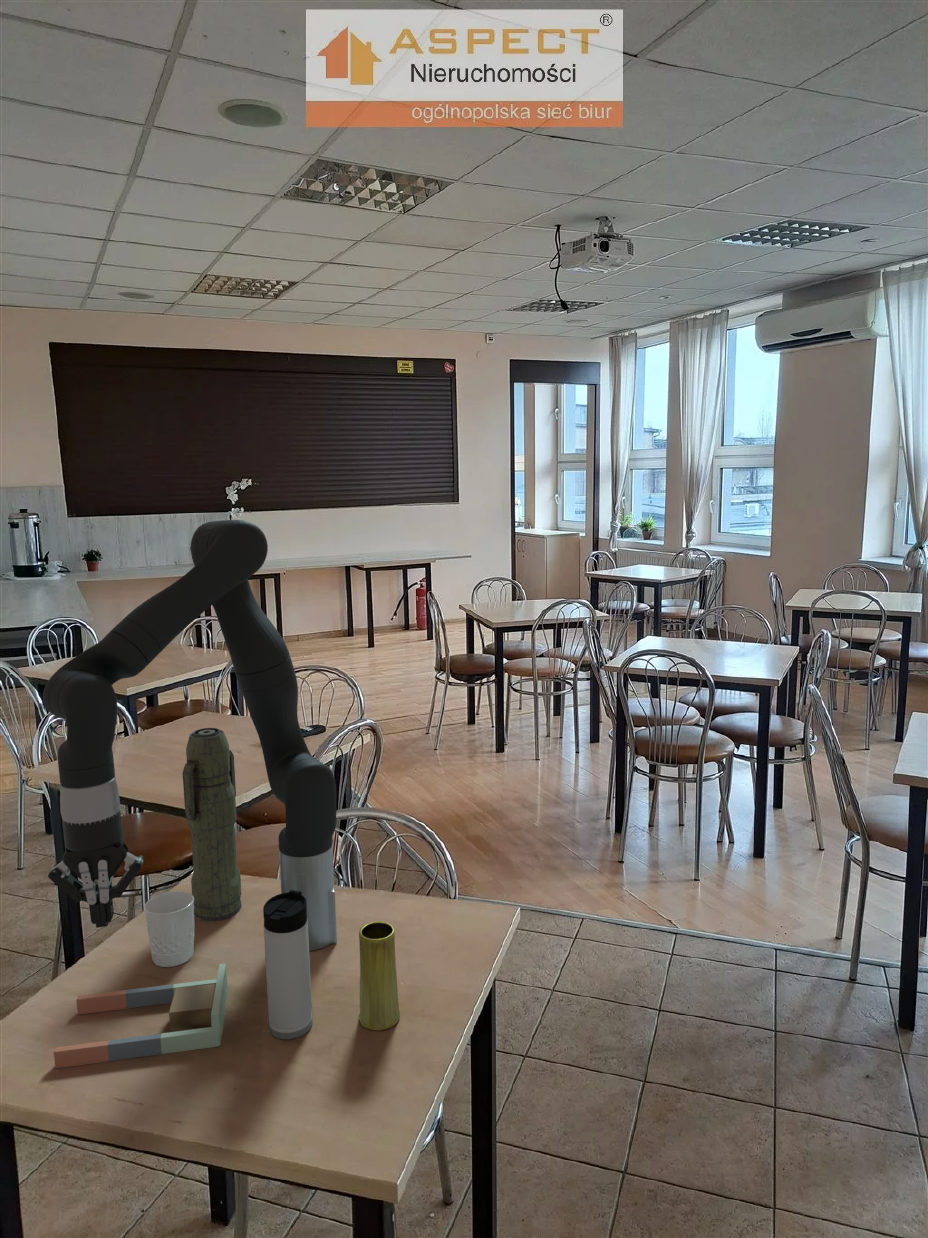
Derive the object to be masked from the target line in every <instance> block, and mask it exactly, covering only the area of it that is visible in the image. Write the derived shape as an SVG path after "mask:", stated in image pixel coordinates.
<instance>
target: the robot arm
mask: <svg viewBox="0 0 928 1238" xmlns="http://www.w3.org/2000/svg"><path fill="white" fill-rule="evenodd" d="M268 547H269V546H268V540H267V538H266V534H265V533H264V532H263V530H262V529H261V528H260V527H259V526H258V525H257V524H255V523H253V522H251V521H249V520H244V519H226V520H225V519H224V520H223V519H222V520H213V521H208V522H205V523H202V524H201V525H199V526H198V527H197V528H196V529H195V531H194V532H193V535H192V538H191V541H190V554H191V560H192V562H193V565H194V567H192V568H191V569H190V570H189V571H187V572H186V573H185V574H184V575H183V576H181V577H180V578H178V579H177V580H176V581H174V582H173V583H171V584H170V585H169V586H167V587H165V588H164V589H162V590H160V591H159V592H157V593H156V594H154V595H152V596H151V597H149V598H148V599H147V600H145V601H144V602H142V603H140V605H138V606H136V607H135V608H134V609H133V610H132V611H130V613H128V614H127V615H126V616H125V617H124V618H123V619H121V621H120V622H118V623H117V624H116V625H115V626H114V627H113V628H112V629H111V630H110V631H109V632H108V633H107V634H105V636H104V637H103V638H102V639H100V641H98V642H97V643H95V644H94V645H91V646H90V647H89V648H87V649H86V650H84V651H82V652H81V653H79V654H78V655H76V656H74V657H73V658H71V659H70V660H69V661H67V662H66V663H64V664H63V665H62V666H61V667H60V668H59V669H57V670H56V671H55V672H54V673H53V675H52V676H51V677H50V678H49V679H48V680H47V682H46V684H45V686H44V689H43V692H42V701H43V705H44V706H45V707H44V708H45V709H46V710H47V711H48V713H50V714H51V715H53V716H55V718H59V719H61V720H65V723H66V740H65V741H63V742H62V743H61V744H60V746H59V747H58V751H57V764H58V766H57V768H58V775H59V776H58V777H59V783H60V784H59V785H60V786H59V787H60V790H59V791H60V792H59V793H60V795H59V802H60V803H59V805H60V807H59V810H60V811H59V812H60V816H61V819H62V820H61V821H62V822H61V823H62V830H63V839H64V849H65V851H64V854H63V855H62V860H61V861H60V862H59V863H56V864H54V865H53V866H52V868H51V869H50V871H49V873H48V875H47V877H48V879H49V880H50V881H51V882H52V883H54V884H55V885H56V886H57V887H58V888H59V889H60V890H61V891H63V893H65V894H66V895H67V896H68V897H70V899H72V900H73V901H74V902H75V903H80V902H85V903H87V904H88V906H89V908H88V909H89V915H90V921H91V924H92V925H95V928H96V929H97V928H105V927H106V928H107V927H108V926H109V924H110V923H111V922H112V919H113V917H114V915H115V909H114V901H113V900H114V899H115V898H118V899H119V898H120V897H122V895H123V894H124V892H126V890H127V889H128V887H129V886H130V884H131V883H132V881H133V880H134V879H135V877H136V876H137V875H138V873H139V872H140V871H141V869H142V867H143V864H144V862H145V857H144V855H137V856H136V855H134V854H132V853H131V852H129V847H128V845H127V844H126V843H125V840H124V832H123V822H122V812H121V801H120V793H119V786H118V783H117V780H116V770H115V759H114V753H113V752H114V751H113V744H114V738H115V733H116V727H117V719H118V699H117V695H116V692H115V689H114V688H113V685H114V684H116V683H117V682H118V681H120V680H123V679H128V678H134V677H136V676H138V675H139V674H140V673H142V671H144V670H145V669H146V668H147V667H148V666H149V665H150V664H151V663H152V662H153V661H154V660H155V658H156V657H158V656H159V654H161V652H162V651H164V650H165V649H166V648H167V647H168V645H170V643H171V642H172V641H174V639H176V638H177V637H178V635H180V634H181V633H182V632H183V631H184V630H185V629H186V628H187V627H188V626H189V625H190V624H191V623H193V622H194V621H195V620H196V619H198V617H200V616H201V615H202V614H203V613H205V612H206V610H208V609H209V608H210V607H212V608H213V610H214V612H215V613H214V614H215V616H216V618H217V621H218V625H219V627H220V630H221V633H222V636H223V639H224V641H225V645H226V647H227V651H228V653H229V656H230V660H231V663H232V668H233V671H234V674H235V676H236V679H237V682H238V685H239V686H238V687H239V688H240V691H241V694H242V697H243V700H244V701H245V705H246V708H247V710H248V713H249V716H250V719H251V720H252V723H253V725H254V727H255V731H256V733H257V736H258V738H259V741H260V746H261V750H262V755H263V760H264V765H265V769H266V775H267V779H268V784H269V787H270V789H271V792H272V794H273V795H274V796H275V798H276V799H278V801H279V802H281V803H282V804H284V807H285V826H284V827H283V828H282V829H281V830H280V832H279V833H278V859H279V860H278V861H279V874H280V876H279V877H280V878H279V879H280V894H282V893H287V892H289V891H290V890H295V891H301V892H302V895H303V896H304V897H305V898H306V902H307V919H308V938H309V952H312V951H316V950H321V949H323V948H325V947H327V946H329V945H333V944H337V943H338V937H337V935H338V933H337V915H336V914H337V912H336V911H337V910H336V889H335V874H334V873H335V869H334V849H333V848H334V845H333V844H334V842H333V839H334V838H333V836H334V833H335V832H336V827H337V784H336V779H335V775H334V773H333V771H332V770H331V769H330V767H329V766H328V765H326V764H325V763H323V762H322V761H320V760H318V759H317V758H315V757H314V756H313V755H312V754H311V751H310V749H309V748H308V746H307V743H306V741H305V738H304V736H303V733H302V730H301V727H300V723H299V718H298V716H299V715H298V705H299V704H298V702H299V685H298V679H297V674H296V670H295V668H294V664H293V661H292V658H291V655H290V652H289V649H288V647H287V644H286V642H285V640H284V639H283V637H282V636H281V634H280V632H279V631H278V629H277V628H276V627H275V625H274V624H273V623H272V621H271V620H270V619H269V617H268V615H266V613H265V612H264V610H263V609H262V608H261V607H260V605H259V603H258V602H257V599H256V597H255V595H254V592H253V590H252V587H251V585H250V581H249V578H250V577H251V576H254V575H255V574H256V573H257V572H259V570H260V569H261V568H262V567H263V565H264V563H265V561H266V559H267V556H268V553H269V552H268V550H269V548H268ZM123 862H124V863H125V864H124V867H123V868H124V870H125V872H124V874H123V875H122V877H121V878H120V879H119V880H118V882H117V883H116V884H115V885H113V883H114V882H113V881H114V880H113V879H114V875H115V874H116V873H117V872H118V870H119V868H120V866H122V864H123ZM71 872H72V874H71ZM73 874H74V875H75V876H76V877H77V878H78V879H80V880H81V882H80V881H79V880H78V879H77V878H76V877H74V876H73Z"/></svg>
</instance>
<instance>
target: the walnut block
mask: <svg viewBox="0 0 928 1238" xmlns="http://www.w3.org/2000/svg"><path fill="white" fill-rule="evenodd" d="M215 988H216V984H210V985H201V986H192V987H183V988H176V990H175V994H174V997H173V1001H172V1003H170V1004H171V1005H170V1008H169V1011H168V1015H169V1016H168V1017H169V1028H170V1029H169V1030H170V1031H169V1032H177V1031H185V1030H192V1029H200V1028H208V1027H212V1024H211V1012H212V1006H213V1000H214V994H215Z"/></svg>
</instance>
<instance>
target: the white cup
mask: <svg viewBox="0 0 928 1238" xmlns="http://www.w3.org/2000/svg"><path fill="white" fill-rule="evenodd" d="M144 913H145V921H146V927H147V935H148V942H149V943H148V944H149V946H150V951H151V952H150V953H151V960H152V962H153V963H154V964H155V966H158V967H162V968H172V967H177V966H180V965H183V964H185V963H187V962H188V961H190V960H191V959H192V958H193V956H194V953H195V929H196V928H195V915H194V897H193V895H192V893H190V892H188V891H183V890H174V891H172V890H171V891H166V892H163V893H162V892H161V893H159V894H157V895H155V896H153V897H151V898H149V899H148V900H147V901H146V902H145V903H144Z"/></svg>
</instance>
